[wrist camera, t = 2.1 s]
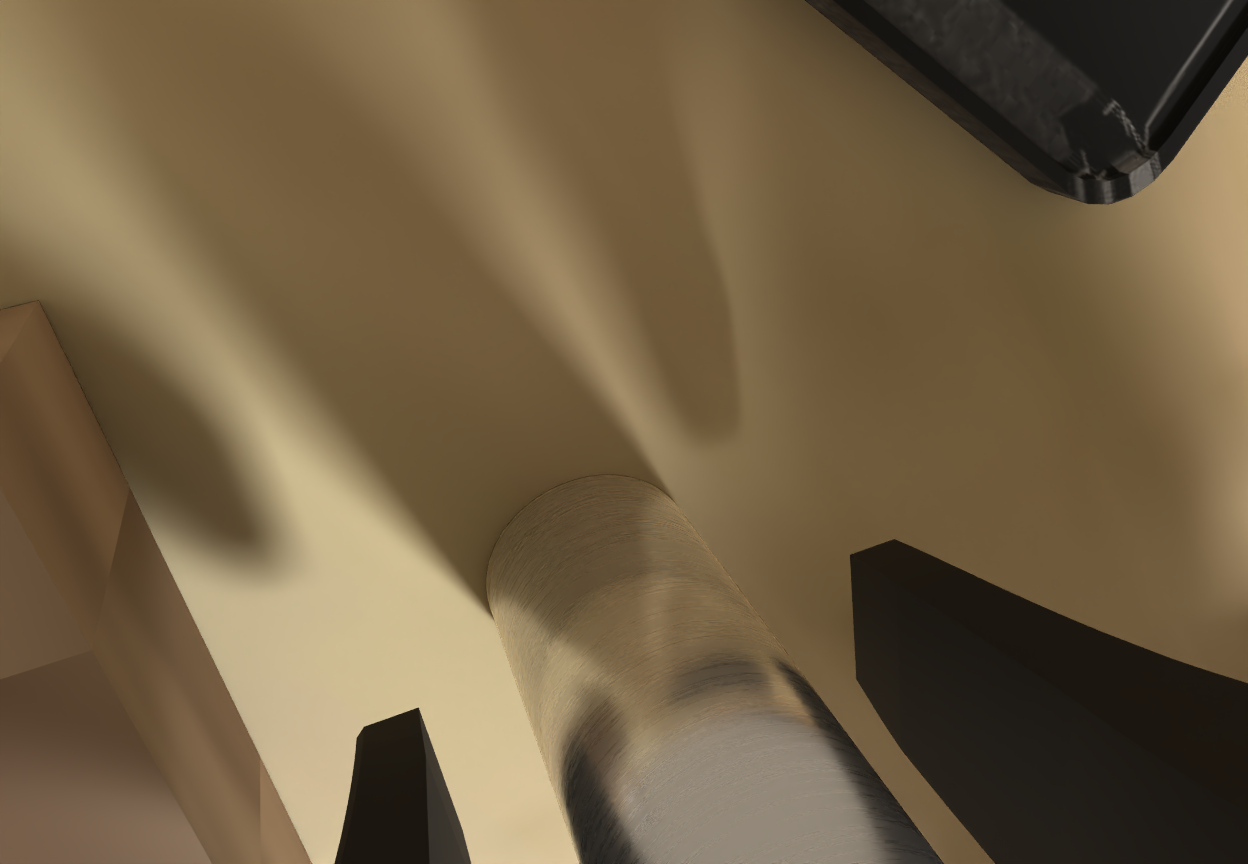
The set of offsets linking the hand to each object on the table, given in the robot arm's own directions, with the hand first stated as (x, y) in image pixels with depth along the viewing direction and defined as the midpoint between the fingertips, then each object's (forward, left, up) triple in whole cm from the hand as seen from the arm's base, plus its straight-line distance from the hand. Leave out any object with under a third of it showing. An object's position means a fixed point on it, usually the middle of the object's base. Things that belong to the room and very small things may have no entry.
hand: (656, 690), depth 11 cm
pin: (0, 0, -3) cm, 3 cm away
